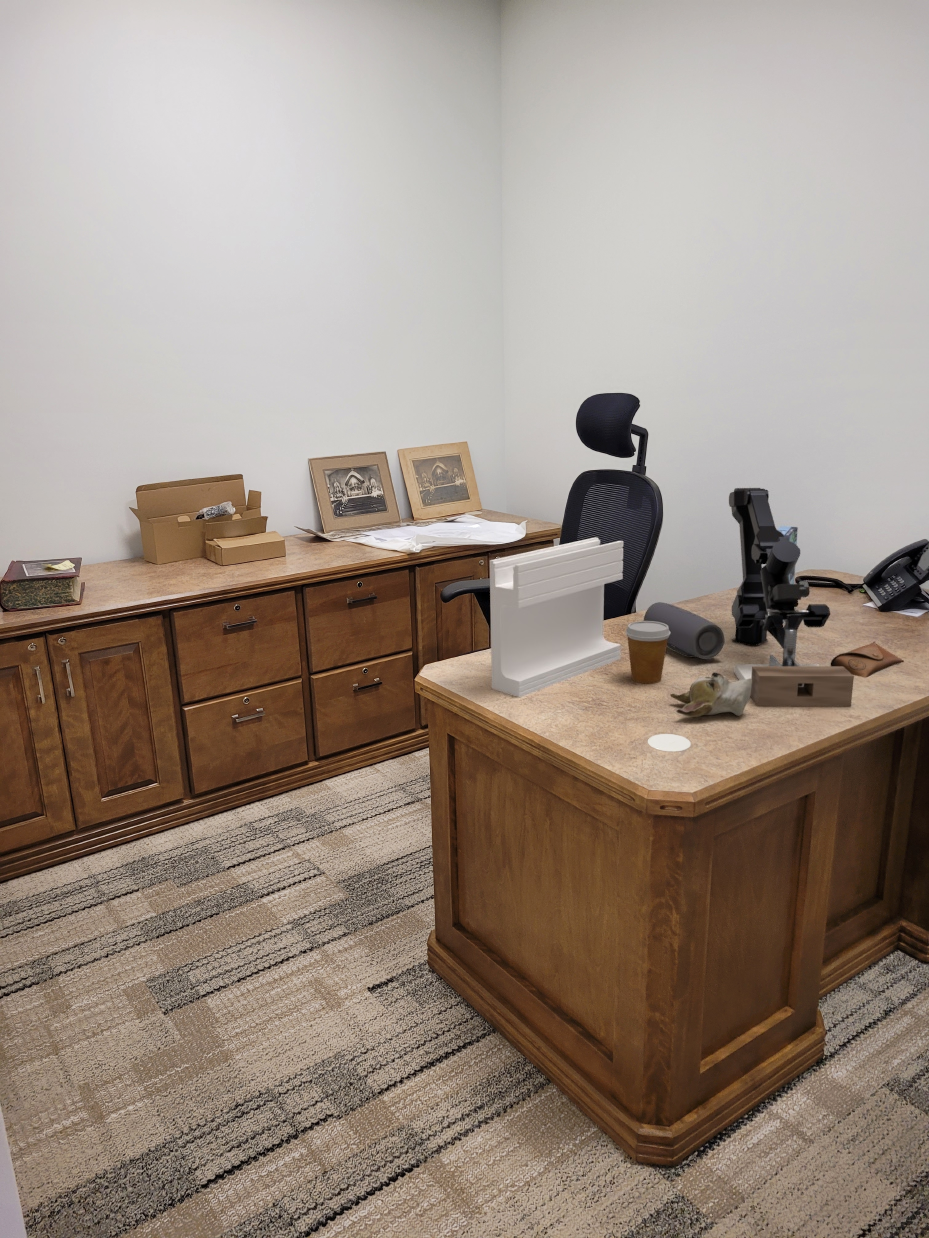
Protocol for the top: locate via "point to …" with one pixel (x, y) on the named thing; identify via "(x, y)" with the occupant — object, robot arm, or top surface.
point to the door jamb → (817, 691)
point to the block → (551, 614)
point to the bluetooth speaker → (687, 631)
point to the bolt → (790, 648)
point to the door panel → (746, 669)
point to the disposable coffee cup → (647, 650)
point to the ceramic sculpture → (715, 696)
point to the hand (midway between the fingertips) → (787, 650)
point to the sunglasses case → (866, 660)
